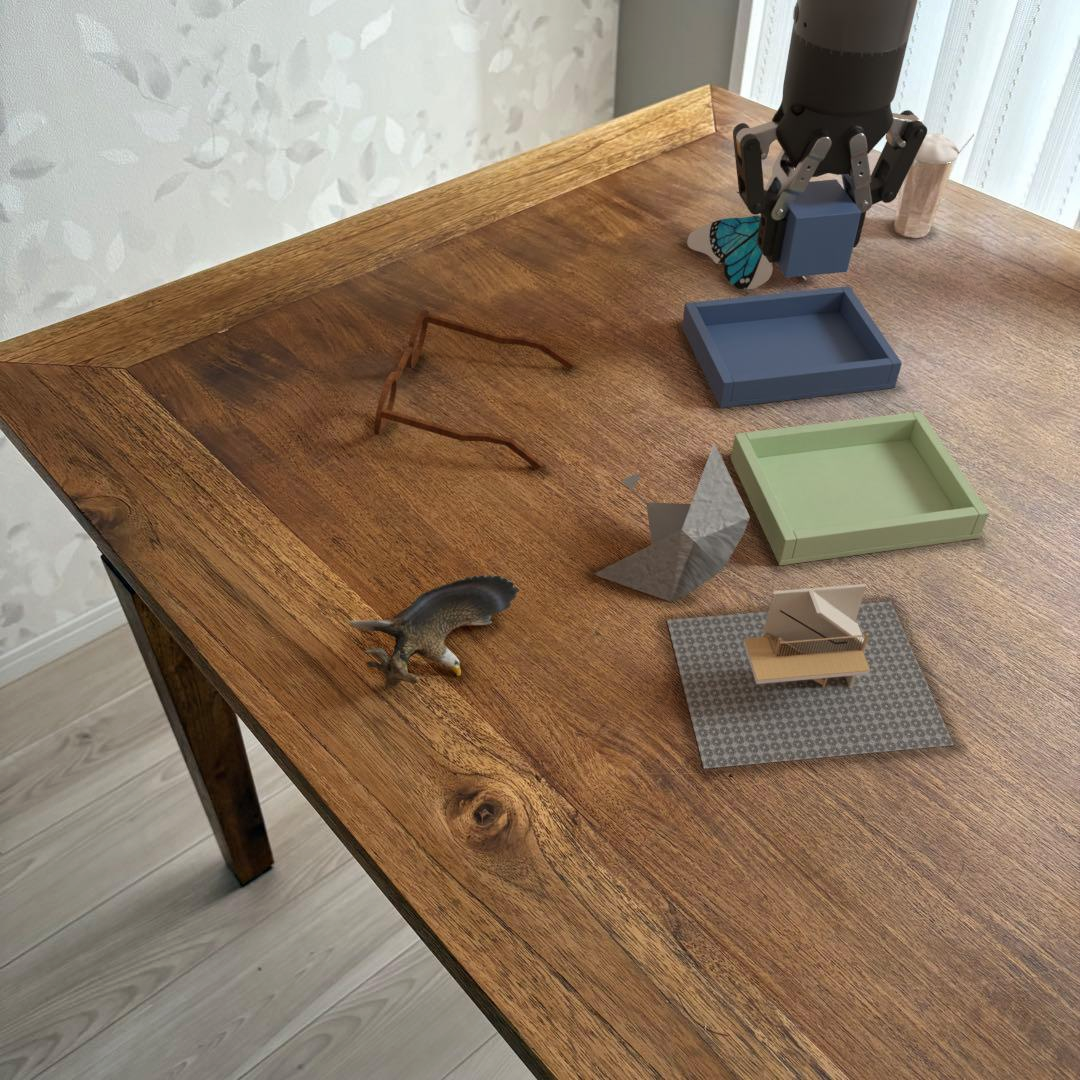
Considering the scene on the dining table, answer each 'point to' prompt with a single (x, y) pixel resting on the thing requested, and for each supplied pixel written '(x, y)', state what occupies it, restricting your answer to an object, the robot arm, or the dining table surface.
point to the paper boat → (685, 537)
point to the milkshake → (925, 185)
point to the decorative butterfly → (734, 250)
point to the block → (819, 231)
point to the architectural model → (804, 680)
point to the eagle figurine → (437, 623)
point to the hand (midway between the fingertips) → (806, 252)
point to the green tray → (855, 487)
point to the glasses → (411, 362)
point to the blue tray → (789, 346)
